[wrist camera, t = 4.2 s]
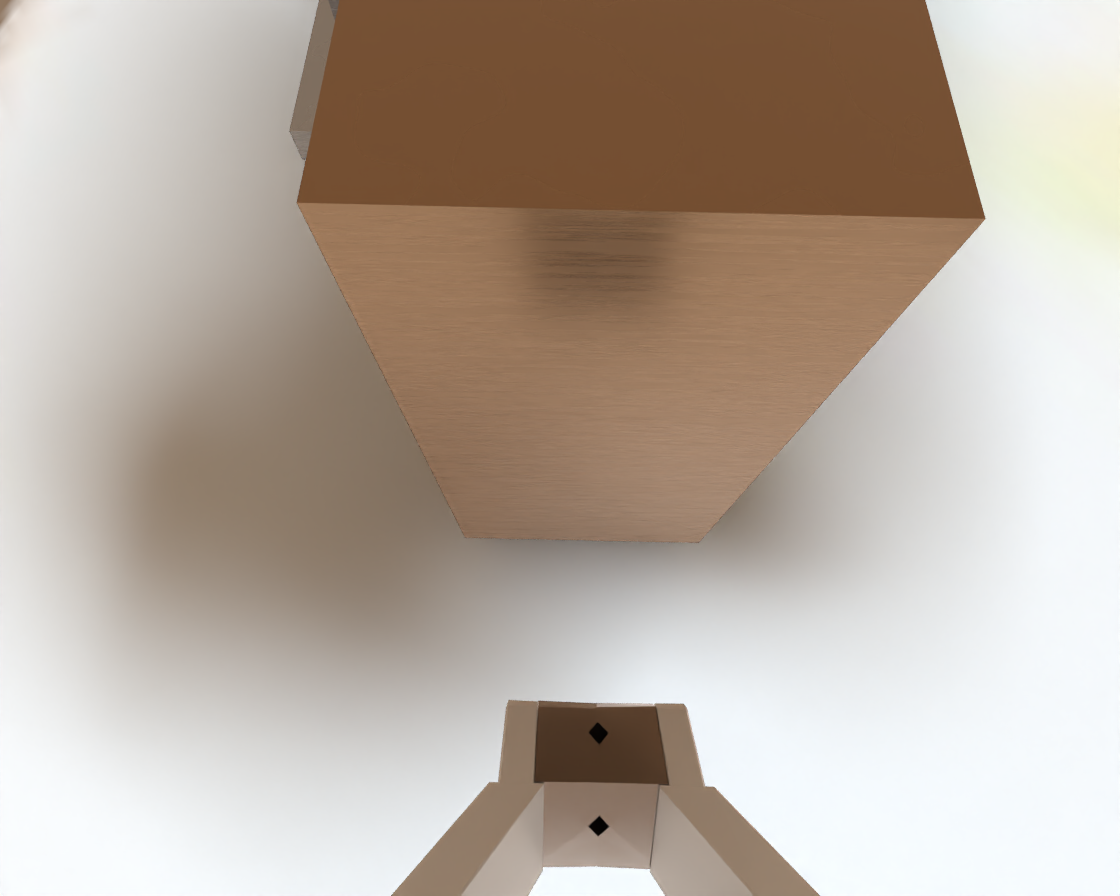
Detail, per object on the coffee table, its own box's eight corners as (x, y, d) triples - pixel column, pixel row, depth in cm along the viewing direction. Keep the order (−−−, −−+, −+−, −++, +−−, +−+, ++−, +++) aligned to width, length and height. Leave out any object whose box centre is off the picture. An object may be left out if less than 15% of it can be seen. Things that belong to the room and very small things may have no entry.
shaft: (706, 542, 17) (1008, 219, 6) (457, 537, 17) (274, 202, 6) (670, -8, 25) (769, -600, 13) (500, -12, 25) (457, -609, 13)
